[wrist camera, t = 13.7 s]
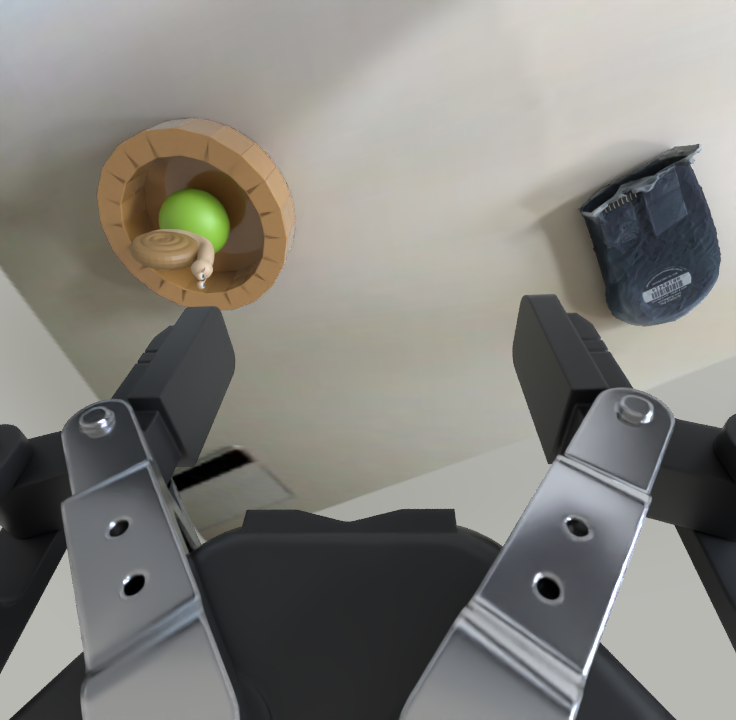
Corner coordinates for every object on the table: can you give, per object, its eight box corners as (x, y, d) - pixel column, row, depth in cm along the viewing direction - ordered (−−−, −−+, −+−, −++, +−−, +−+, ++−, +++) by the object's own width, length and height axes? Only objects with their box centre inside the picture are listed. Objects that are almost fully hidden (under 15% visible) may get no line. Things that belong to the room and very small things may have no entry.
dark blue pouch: (556, 206, 38) (617, 336, 44) (584, 215, 33) (649, 360, 39) (662, 139, 36) (712, 285, 42) (709, 138, 31) (758, 304, 37)
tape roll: (94, 127, 34) (60, 138, 31) (275, 109, 33) (262, 119, 30) (162, 291, 43) (142, 315, 40) (308, 282, 42) (300, 305, 39)
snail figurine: (249, 248, 40) (206, 317, 30) (178, 237, 40) (111, 304, 30) (248, 187, 37) (200, 244, 27) (170, 175, 36) (93, 228, 27)
